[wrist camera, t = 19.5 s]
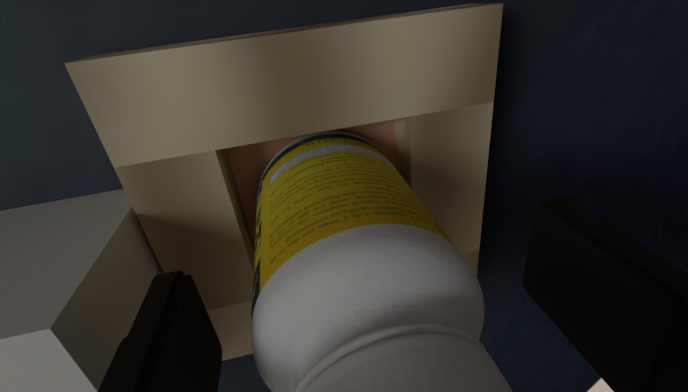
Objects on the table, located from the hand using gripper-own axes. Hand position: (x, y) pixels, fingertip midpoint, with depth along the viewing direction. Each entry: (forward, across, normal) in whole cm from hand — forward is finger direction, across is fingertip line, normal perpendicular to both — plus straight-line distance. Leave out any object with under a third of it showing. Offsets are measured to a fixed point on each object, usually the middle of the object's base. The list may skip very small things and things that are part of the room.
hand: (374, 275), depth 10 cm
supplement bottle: (+5, +1, 0) cm, 5 cm away
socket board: (+5, +1, 0) cm, 5 cm away
